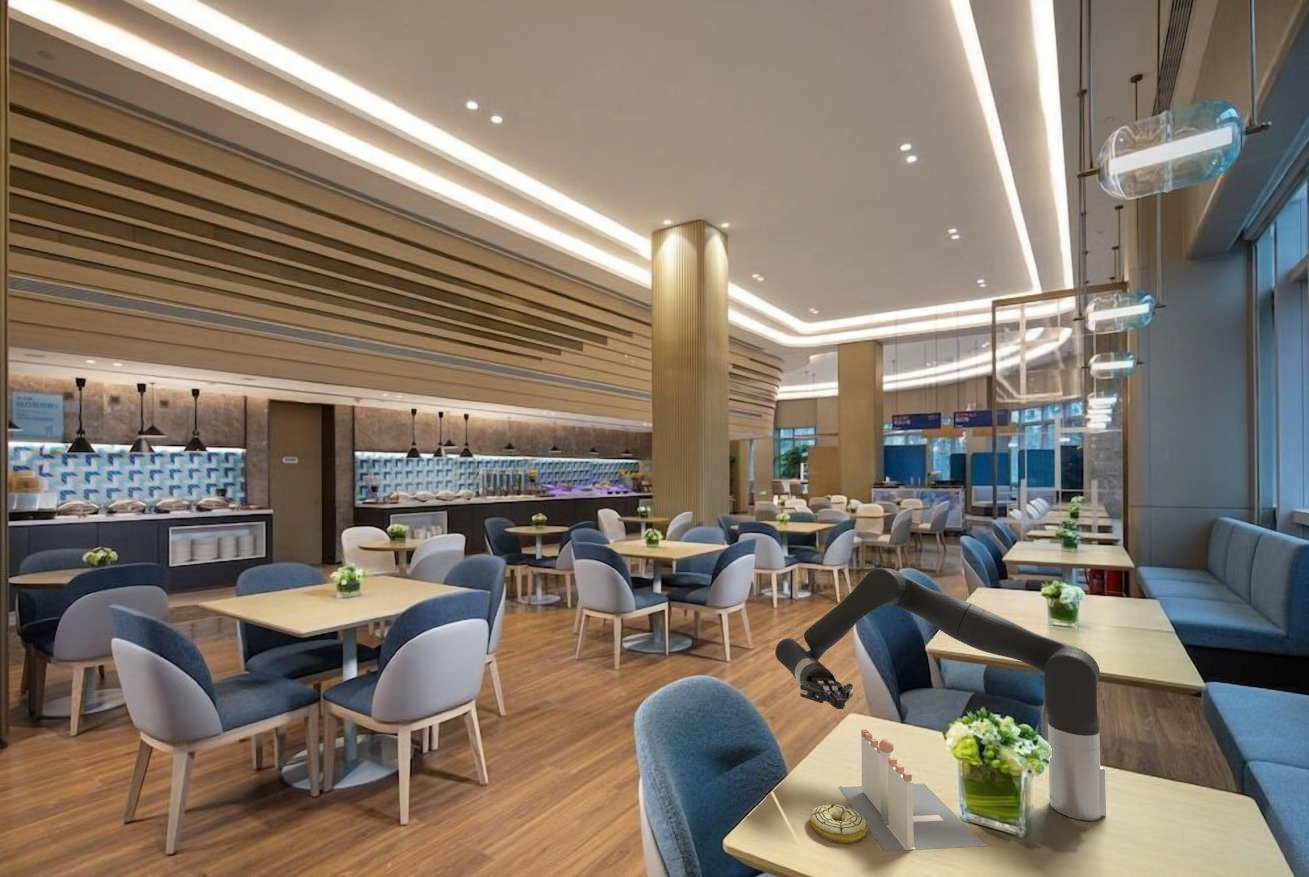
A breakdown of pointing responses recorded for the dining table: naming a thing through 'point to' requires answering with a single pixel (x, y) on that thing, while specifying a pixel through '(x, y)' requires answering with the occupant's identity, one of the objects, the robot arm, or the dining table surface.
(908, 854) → the dining table surface
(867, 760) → the white crenellated wall panel
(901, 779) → the fence post and fixed panel
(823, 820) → the decorated donut
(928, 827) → the card
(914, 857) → the dining table surface
